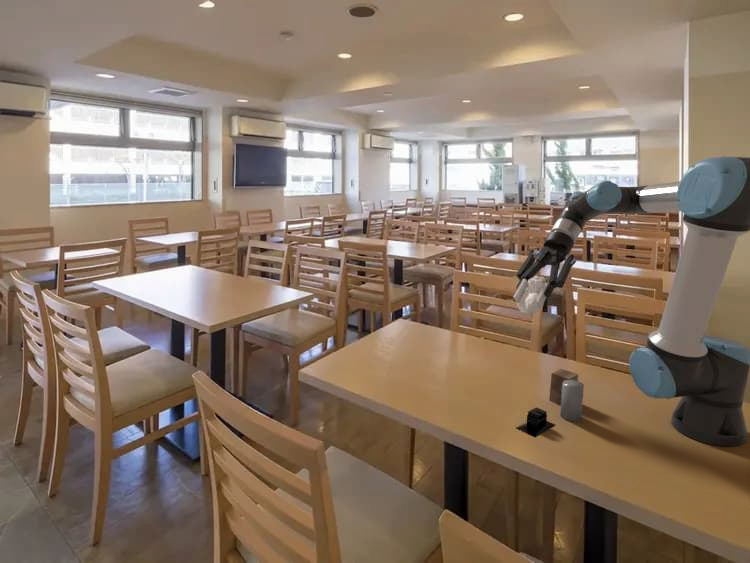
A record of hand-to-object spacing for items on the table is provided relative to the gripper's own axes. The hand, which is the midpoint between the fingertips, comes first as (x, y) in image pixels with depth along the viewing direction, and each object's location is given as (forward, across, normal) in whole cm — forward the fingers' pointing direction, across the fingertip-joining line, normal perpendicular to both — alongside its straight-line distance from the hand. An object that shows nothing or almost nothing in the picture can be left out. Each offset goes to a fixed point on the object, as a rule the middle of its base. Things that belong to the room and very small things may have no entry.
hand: (526, 302), depth 133 cm
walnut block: (+16, -11, -21) cm, 29 cm away
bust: (0, +1, -5) cm, 5 cm away
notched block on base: (+30, -14, -9) cm, 34 cm away
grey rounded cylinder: (+21, -17, -16) cm, 31 cm away
